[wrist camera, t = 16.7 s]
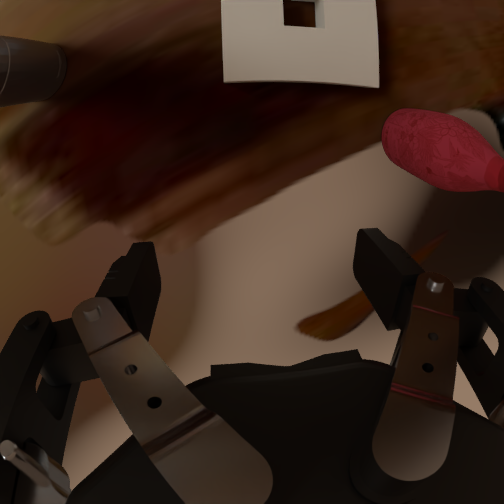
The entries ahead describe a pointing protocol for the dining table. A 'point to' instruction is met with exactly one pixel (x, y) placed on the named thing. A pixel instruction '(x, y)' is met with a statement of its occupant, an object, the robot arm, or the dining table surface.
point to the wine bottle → (442, 151)
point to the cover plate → (301, 43)
